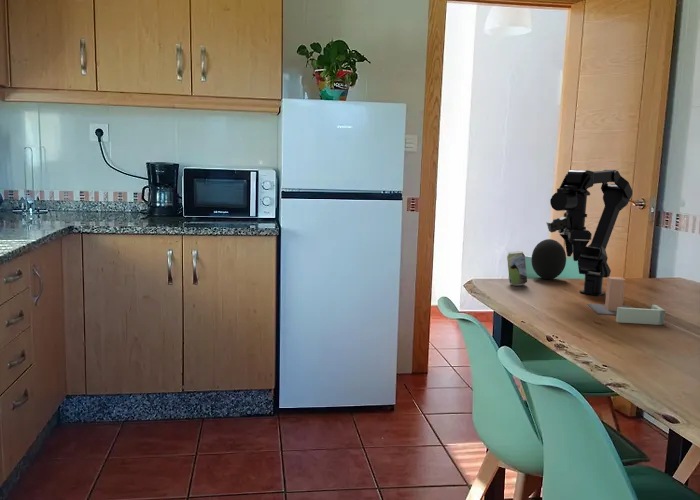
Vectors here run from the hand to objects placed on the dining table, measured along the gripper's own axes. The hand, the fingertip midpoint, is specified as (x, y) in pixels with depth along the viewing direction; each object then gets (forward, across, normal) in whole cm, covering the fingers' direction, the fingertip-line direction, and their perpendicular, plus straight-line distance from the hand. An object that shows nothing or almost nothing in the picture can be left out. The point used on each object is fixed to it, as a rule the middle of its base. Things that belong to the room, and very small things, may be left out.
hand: (572, 258), depth 196 cm
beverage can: (+13, -18, -14) cm, 26 cm away
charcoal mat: (+13, +14, +10) cm, 21 cm away
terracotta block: (+13, +14, +10) cm, 21 cm away
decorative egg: (+13, -33, -1) cm, 35 cm away
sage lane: (+13, +25, +13) cm, 31 cm away
